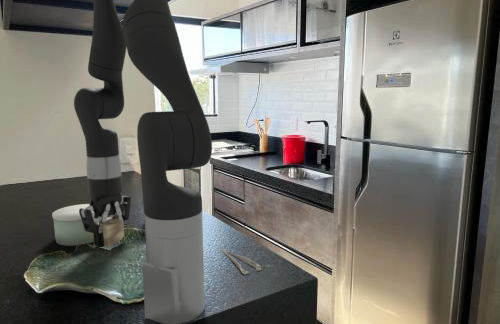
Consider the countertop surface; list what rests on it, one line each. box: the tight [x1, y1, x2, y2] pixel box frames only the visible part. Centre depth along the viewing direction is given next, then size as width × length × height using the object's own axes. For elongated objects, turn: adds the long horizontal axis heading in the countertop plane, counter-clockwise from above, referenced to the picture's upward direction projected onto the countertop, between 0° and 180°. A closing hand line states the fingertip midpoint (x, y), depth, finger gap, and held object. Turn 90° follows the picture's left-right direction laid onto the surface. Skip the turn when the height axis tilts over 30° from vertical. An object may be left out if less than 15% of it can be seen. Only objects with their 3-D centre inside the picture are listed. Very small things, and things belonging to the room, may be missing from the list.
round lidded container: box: [51, 203, 102, 247], centre depth 96 cm, size 12×12×7 cm
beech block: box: [92, 216, 125, 248], centre depth 90 cm, size 5×5×6 cm
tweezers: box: [219, 248, 262, 276], centre depth 84 cm, size 17×5×2 cm, turn 32°
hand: (109, 242), depth 90 cm, fingers closed on beech block, 5 cm apart
